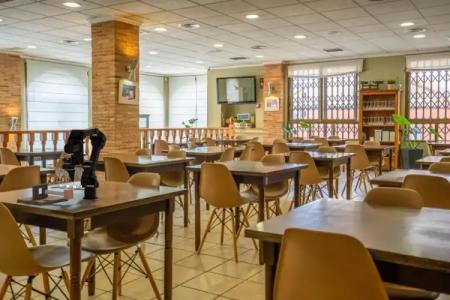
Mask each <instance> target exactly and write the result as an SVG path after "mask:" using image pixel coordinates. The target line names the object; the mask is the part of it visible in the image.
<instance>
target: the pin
mask: <svg viewBox="0 0 450 300" xmlns="http://www.w3.org/2000/svg"><path fill="white" fill-rule="evenodd" d="M45 194H48V195H51V196H60V197H64V199H68V200H73V199H74V188H66V189H63V190H55V189H48V190H45Z"/></svg>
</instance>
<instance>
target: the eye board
mask: <svg viewBox="0 0 450 300" xmlns="http://www.w3.org/2000/svg"><path fill="white" fill-rule="evenodd" d="M31 187H32V190H31V191H32V195H31V196H28V197H23V198H17V199H16V203H21V202H22V204H30V205H36V204H37V205H39V206H45V205H50V204H56V203H62V202H65V201H69V199H64V196H60V195H51V194H45V190H49V185H48V183H40V184H33V185H31ZM40 189H41V193H40ZM37 205H36V206H37Z"/></svg>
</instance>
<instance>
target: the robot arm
mask: <svg viewBox="0 0 450 300" xmlns="http://www.w3.org/2000/svg"><path fill="white" fill-rule="evenodd" d="M87 137H89V138H88V139H89V140H90V145H91V153H90V156H89V160H85V157H86V153H84V152H85V149H84V148H85V147H84V145H85V144H86V142H85V141H84V140H86V139H87ZM106 143H107V137H106V135H105V133H104V132H102V131H101V130H100V129H99V128H98V127H92V126H91V127H87V128H84V129H77V128H75V129H71V131H70V132H69V135H68V138H67V141H66V144H65V145H63V152H64V153H65V154H68V155H70V154H71V155H70V157H68V156H64V157H62V165H61V168H62V169H64V170H65V171H67V172H68V176H69V178H70V181H71V182H72V183H73V182H74V183H75V177H76V175H75V169H74V168H75V167H76V168H79V167H82V168H83V170H84V171H83V172H82V176H81V179H80V178H79V183H80V182H81V187H80V188H81V189H84V191H83V197H82V199H85V200H93V199H98V198H99V196H97V189H98V188H100V182H99V181H98V179H97V178H98V175H97V173H96V170H97V165H98V162H99V160H100V159H99V158H100V154H101V150H103V148H104V147H105V145H106Z"/></svg>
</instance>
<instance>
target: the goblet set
mask: <svg viewBox="0 0 450 300" xmlns="http://www.w3.org/2000/svg"><path fill="white" fill-rule="evenodd" d="M82 167H83V166H80V167H75V168H74V169H75V176H76V175H77V177H78V178H79V180H80V179H81V176H82V172H83V171H84V170H83V168H82ZM55 175H56V176H57V177H58V179H59V180H61V178H62V177H63V175H64V176H65V179H66V180H65V181H66V182H68V176H69V174H68V172H67V171H65V170H64V169H62V167H56V168H55ZM72 183H73V185H72V186H71V185H70V187H71V188H76V187H77V188H82V187H81V182H80V181H79V185H80V186H76V185H75V181H74V182H72ZM56 186H57V187H69V185H68V184H66V185H63V184H57V185H56Z"/></svg>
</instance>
